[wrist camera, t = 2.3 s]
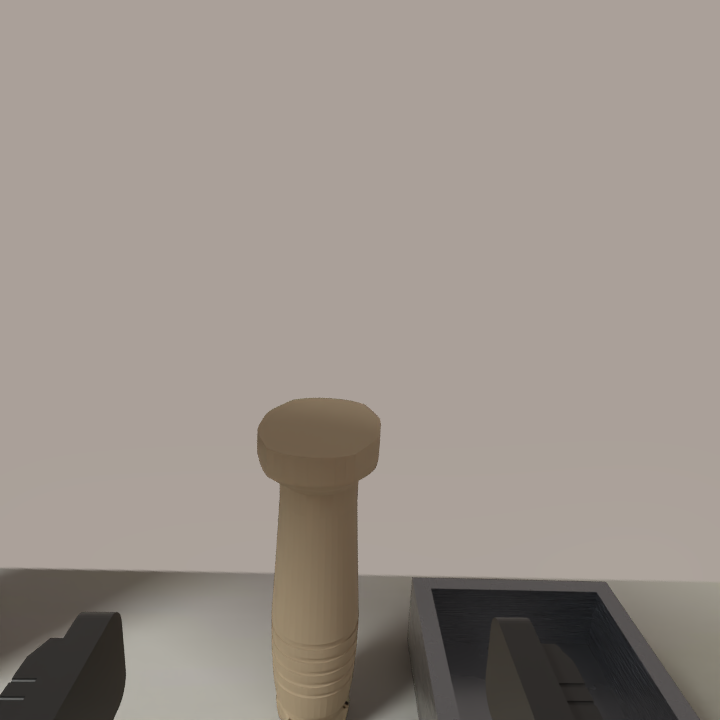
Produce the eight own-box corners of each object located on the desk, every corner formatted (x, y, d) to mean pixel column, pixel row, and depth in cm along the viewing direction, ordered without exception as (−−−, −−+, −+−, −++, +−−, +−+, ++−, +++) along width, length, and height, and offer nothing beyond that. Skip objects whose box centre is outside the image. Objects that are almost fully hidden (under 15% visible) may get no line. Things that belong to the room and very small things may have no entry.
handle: (367, 671, 31) (382, 401, 27) (358, 790, 24) (376, 462, 20) (276, 663, 31) (278, 394, 27) (244, 778, 25) (241, 452, 21)
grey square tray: (436, 840, 23) (445, 759, 22) (407, 638, 33) (412, 577, 32) (708, 841, 23) (729, 762, 22) (594, 641, 34) (605, 581, 32)
